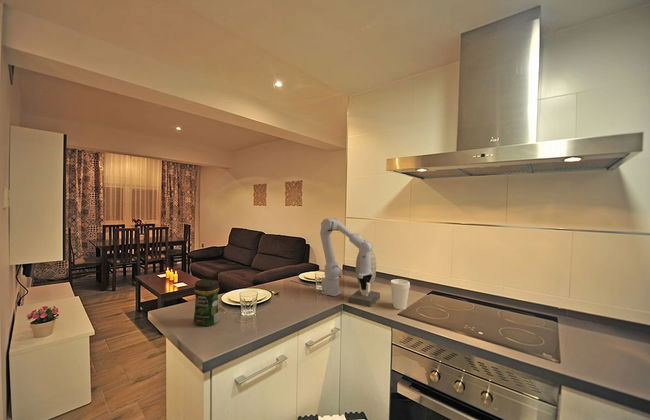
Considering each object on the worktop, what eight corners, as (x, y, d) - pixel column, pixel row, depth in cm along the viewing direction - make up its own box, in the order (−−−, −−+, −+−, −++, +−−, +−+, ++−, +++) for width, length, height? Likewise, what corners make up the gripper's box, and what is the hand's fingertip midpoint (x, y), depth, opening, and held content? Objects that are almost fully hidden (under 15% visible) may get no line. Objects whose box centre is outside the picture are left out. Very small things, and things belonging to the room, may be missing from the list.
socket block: (348, 302, 142) (348, 296, 142) (360, 294, 156) (360, 289, 156) (370, 306, 136) (370, 301, 136) (380, 297, 150) (380, 292, 150)
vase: (352, 285, 173) (353, 241, 173) (370, 283, 177) (370, 241, 177) (360, 291, 161) (361, 244, 161) (379, 289, 165) (380, 244, 164)
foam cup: (402, 312, 130) (402, 285, 130) (386, 306, 137) (387, 281, 137) (412, 307, 136) (413, 282, 136) (397, 302, 143) (398, 278, 143)
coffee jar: (190, 325, 112) (190, 281, 112) (203, 317, 120) (203, 276, 120) (209, 328, 110) (210, 283, 110) (221, 320, 118) (222, 278, 117)
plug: (359, 297, 146) (359, 283, 145) (361, 295, 149) (362, 281, 148) (367, 299, 143) (368, 284, 143) (370, 297, 146) (370, 282, 146)
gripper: (367, 267, 137) (367, 293, 138) (376, 262, 150) (376, 286, 150) (354, 265, 141) (354, 291, 141) (364, 261, 153) (364, 284, 154)
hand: (364, 288), depth 146 cm, fingers closed on plug, 3 cm apart
